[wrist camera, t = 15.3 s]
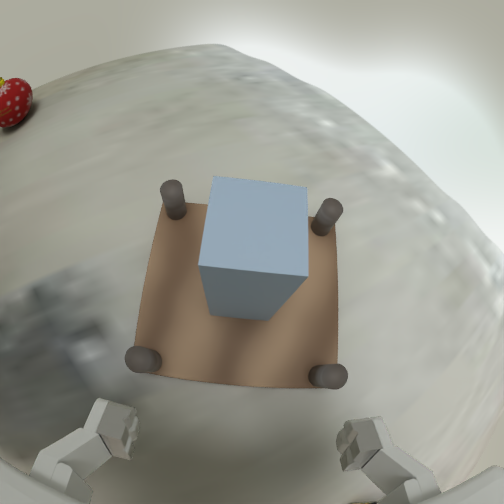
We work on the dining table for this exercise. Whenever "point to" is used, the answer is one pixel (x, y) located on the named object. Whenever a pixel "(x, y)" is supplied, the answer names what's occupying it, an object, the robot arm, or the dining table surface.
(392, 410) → the dining table surface
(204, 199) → the dining table surface
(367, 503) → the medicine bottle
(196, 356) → the peg board
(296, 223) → the blue block
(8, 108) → the christmas ornament
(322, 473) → the dining table surface
